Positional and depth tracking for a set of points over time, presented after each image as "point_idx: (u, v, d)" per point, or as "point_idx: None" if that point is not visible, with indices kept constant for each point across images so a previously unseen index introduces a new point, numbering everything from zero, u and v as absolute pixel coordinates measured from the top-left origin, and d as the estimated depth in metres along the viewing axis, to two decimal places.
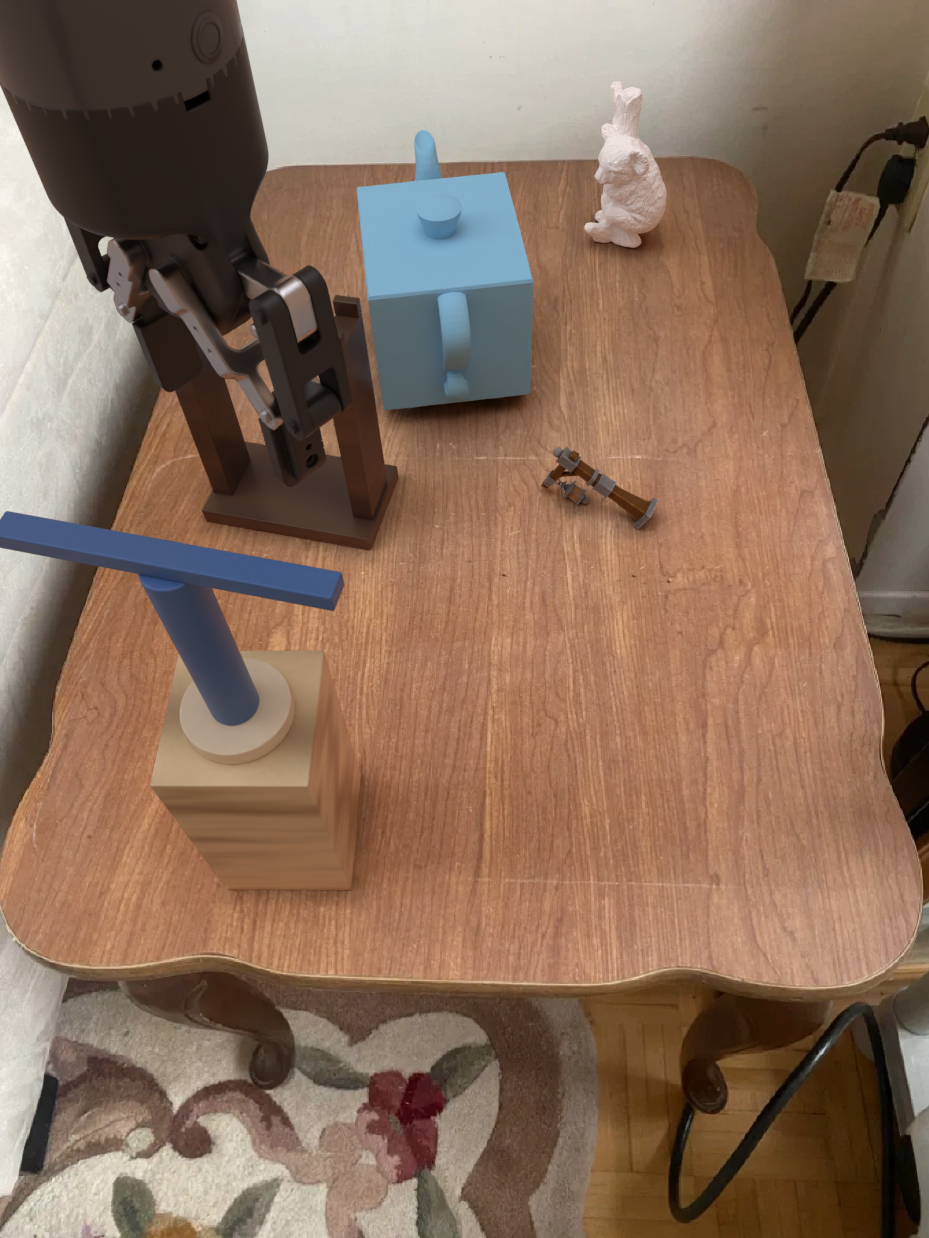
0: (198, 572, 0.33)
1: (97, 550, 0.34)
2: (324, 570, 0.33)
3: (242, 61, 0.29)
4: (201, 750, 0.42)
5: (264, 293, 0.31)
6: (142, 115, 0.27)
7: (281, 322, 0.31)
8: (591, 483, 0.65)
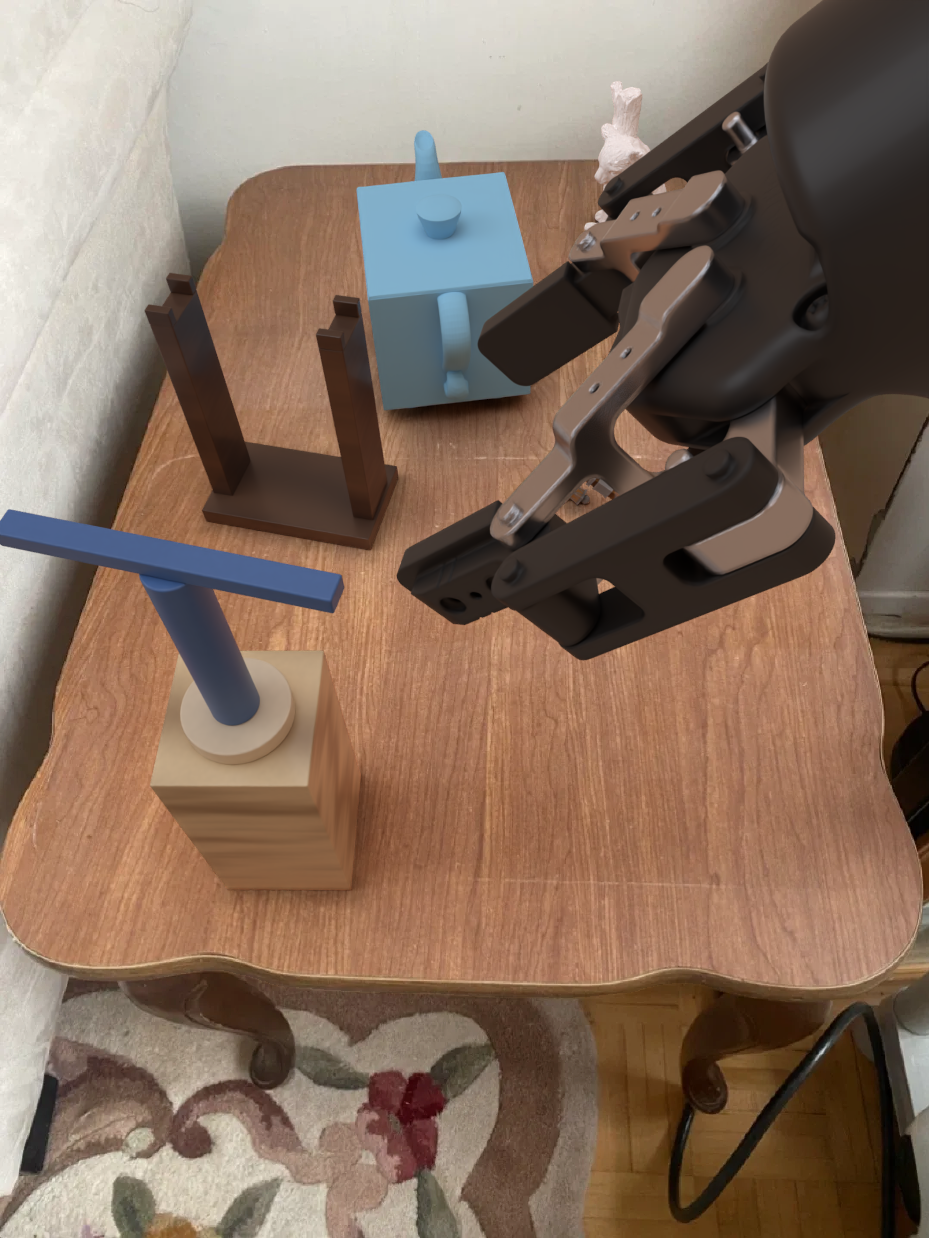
0: (198, 573, 0.33)
1: (98, 549, 0.34)
2: (324, 572, 0.33)
3: None
4: (201, 750, 0.42)
5: (768, 461, 0.15)
6: None
7: (724, 509, 0.15)
8: (591, 483, 0.65)
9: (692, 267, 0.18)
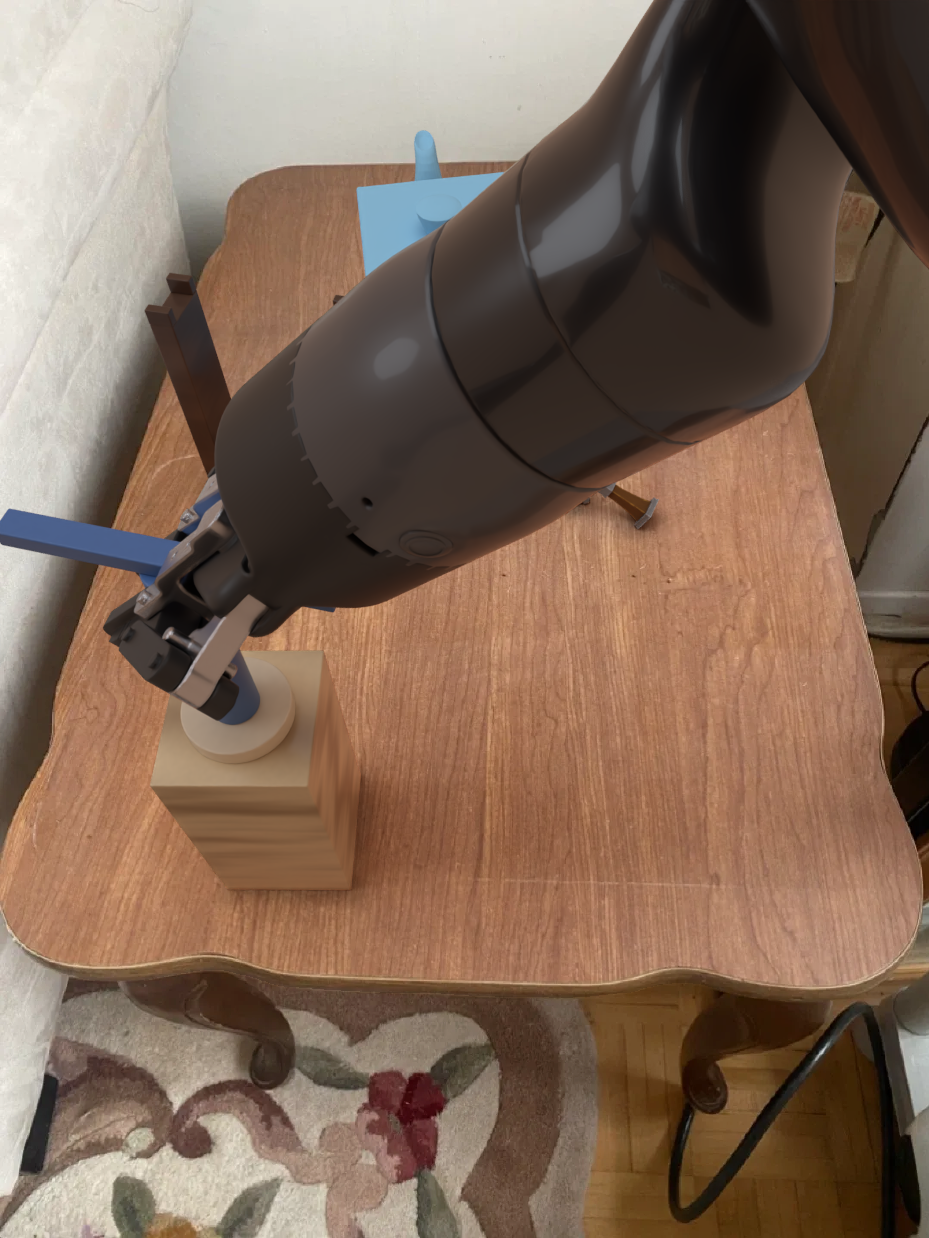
0: None
1: (98, 549, 0.34)
2: None
3: (438, 571, 0.25)
4: (201, 749, 0.42)
5: (177, 669, 0.27)
6: (318, 493, 0.23)
7: (154, 684, 0.27)
8: None
9: (213, 514, 0.28)
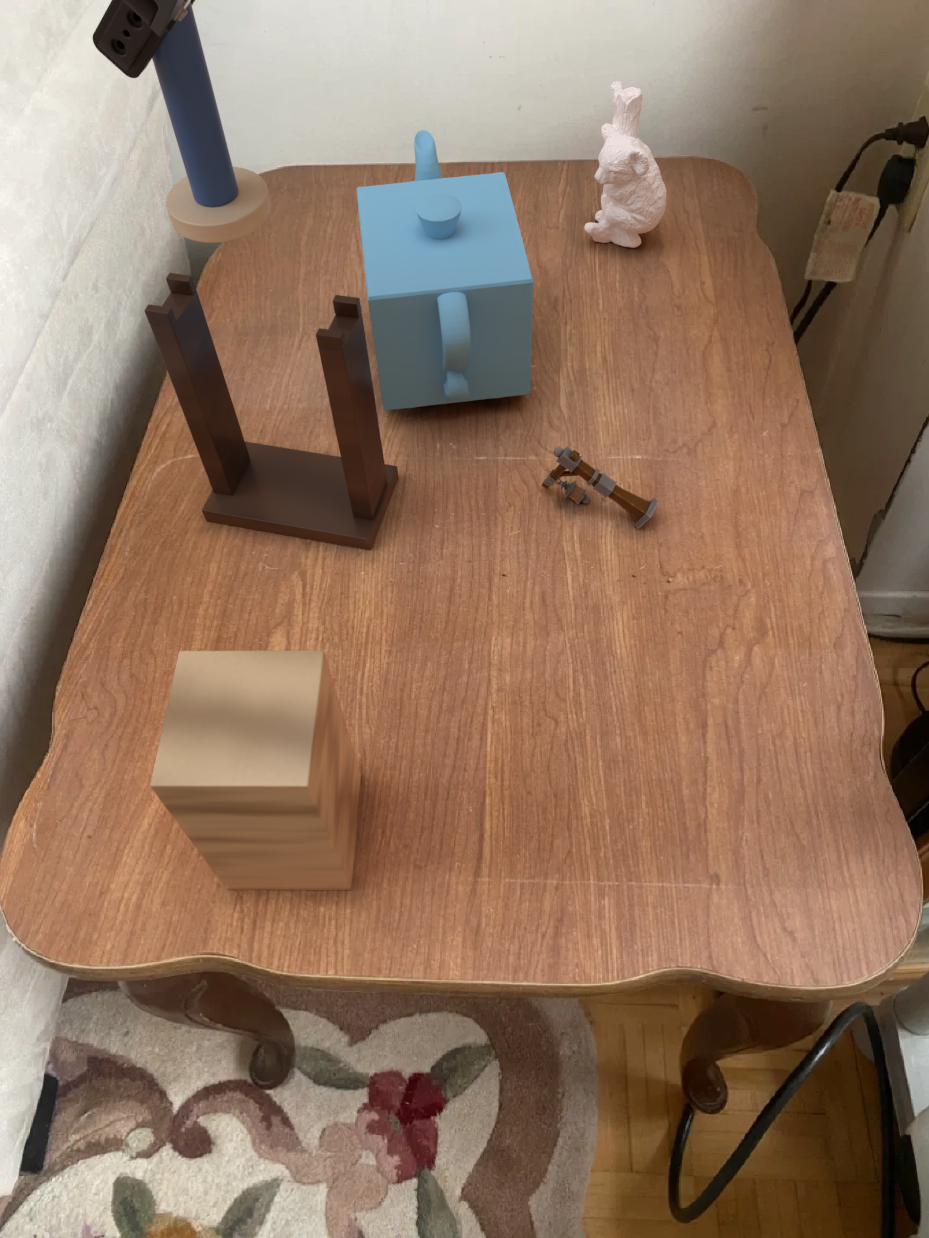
0: None
1: None
2: None
3: None
4: (184, 225, 0.46)
5: None
6: None
7: None
8: (591, 482, 0.65)
9: None
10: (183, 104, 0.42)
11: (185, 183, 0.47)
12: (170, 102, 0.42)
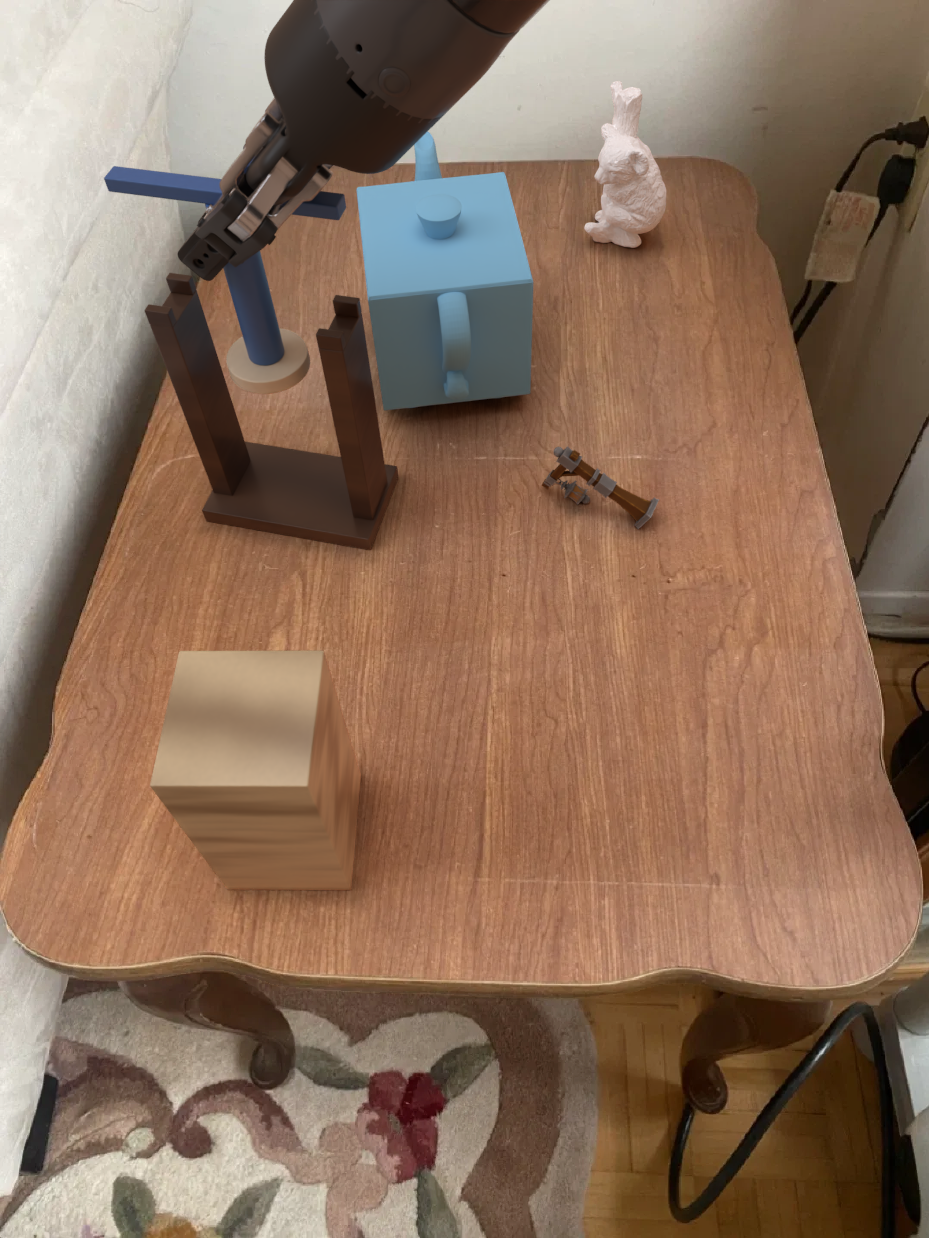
0: None
1: (178, 185, 0.49)
2: (332, 193, 0.48)
3: (403, 121, 0.41)
4: (242, 381, 0.57)
5: (240, 202, 0.42)
6: (329, 50, 0.39)
7: (224, 217, 0.43)
8: (591, 483, 0.66)
9: (261, 119, 0.44)
10: (245, 296, 0.54)
11: (241, 343, 0.59)
12: (235, 295, 0.54)
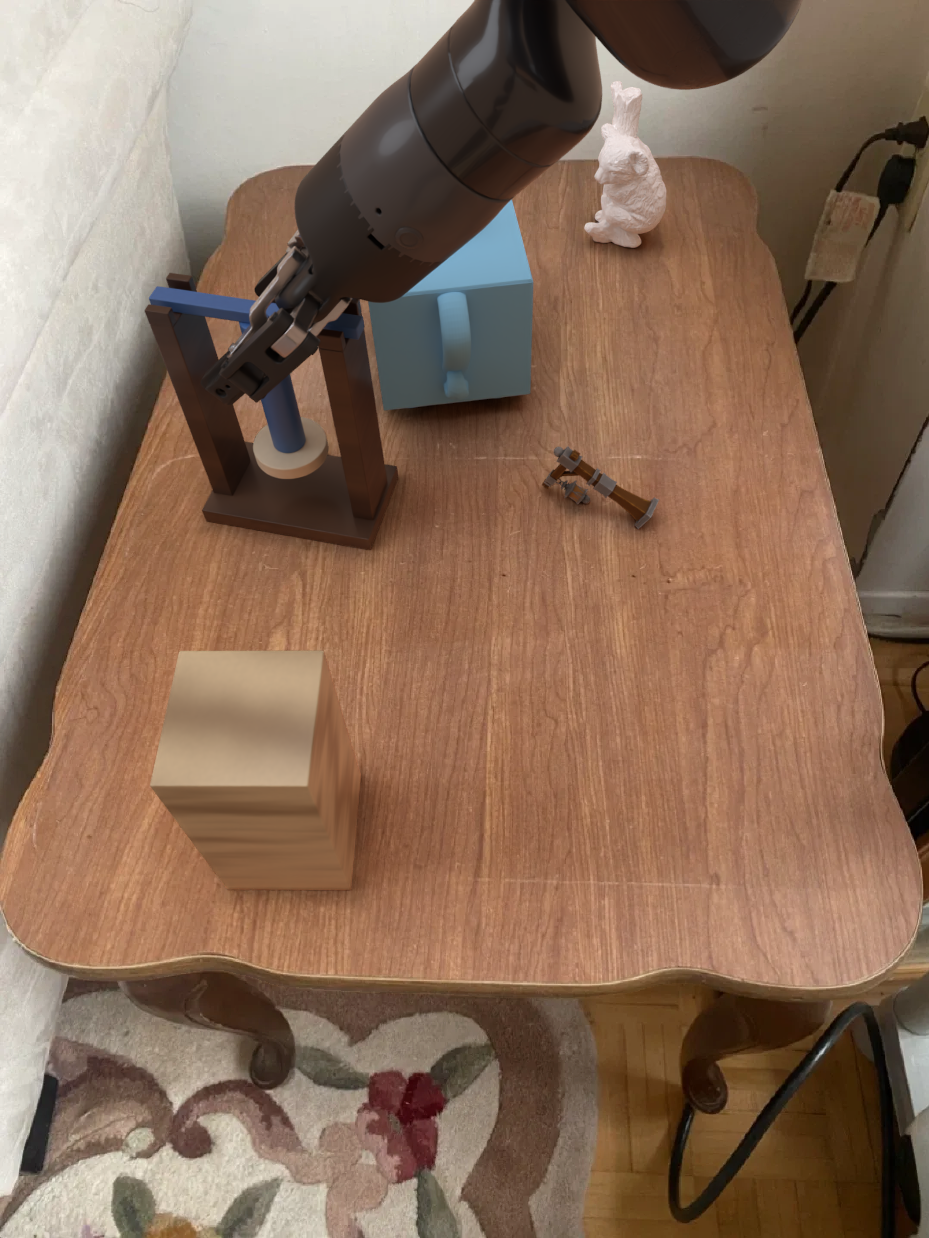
0: None
1: (215, 306, 0.56)
2: (352, 315, 0.55)
3: (416, 265, 0.47)
4: (268, 467, 0.63)
5: (289, 315, 0.47)
6: (353, 210, 0.44)
7: (275, 331, 0.47)
8: (591, 482, 0.66)
9: (289, 253, 0.50)
10: (272, 397, 0.60)
11: (266, 431, 0.65)
12: None
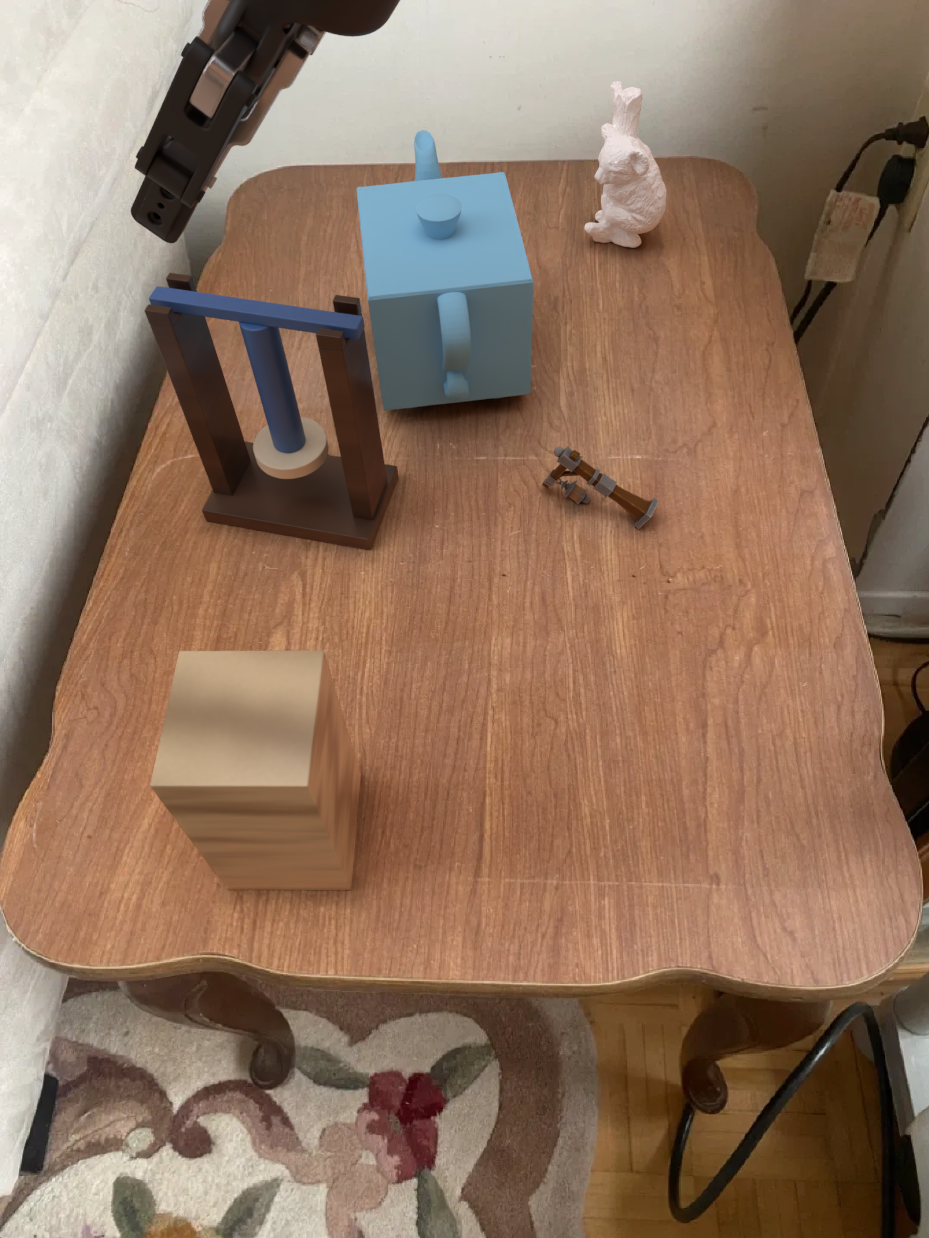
0: (276, 317, 0.55)
1: (215, 306, 0.56)
2: (352, 315, 0.55)
3: None
4: (268, 467, 0.63)
5: (208, 45, 0.33)
6: None
7: (189, 69, 0.33)
8: (591, 482, 0.66)
9: None
10: (272, 397, 0.60)
11: (266, 431, 0.65)
12: (263, 395, 0.60)
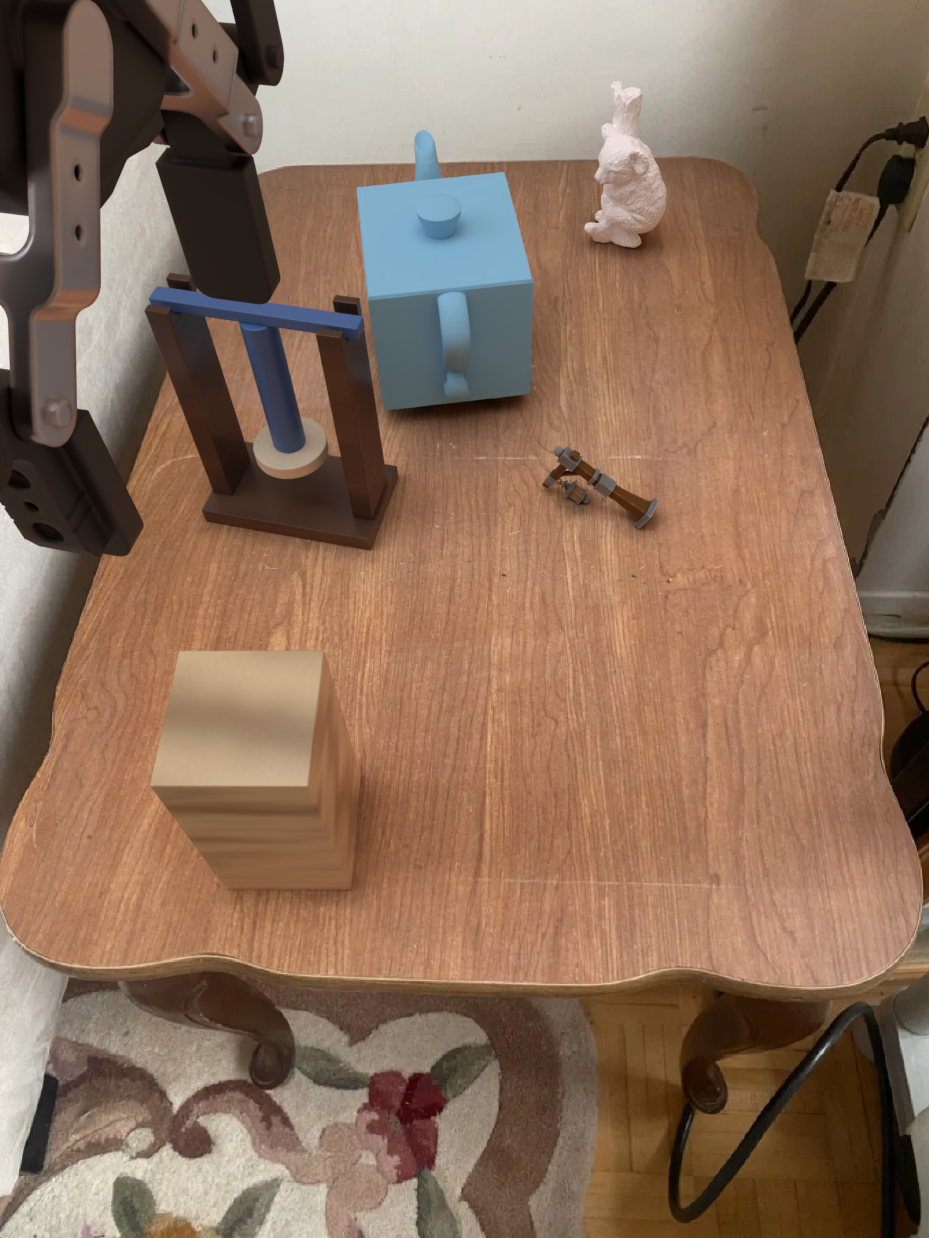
0: (276, 317, 0.55)
1: (215, 306, 0.56)
2: (352, 315, 0.55)
3: None
4: (268, 467, 0.63)
5: None
6: None
7: None
8: (591, 482, 0.66)
9: None
10: (272, 397, 0.60)
11: (266, 431, 0.65)
12: (263, 395, 0.60)
